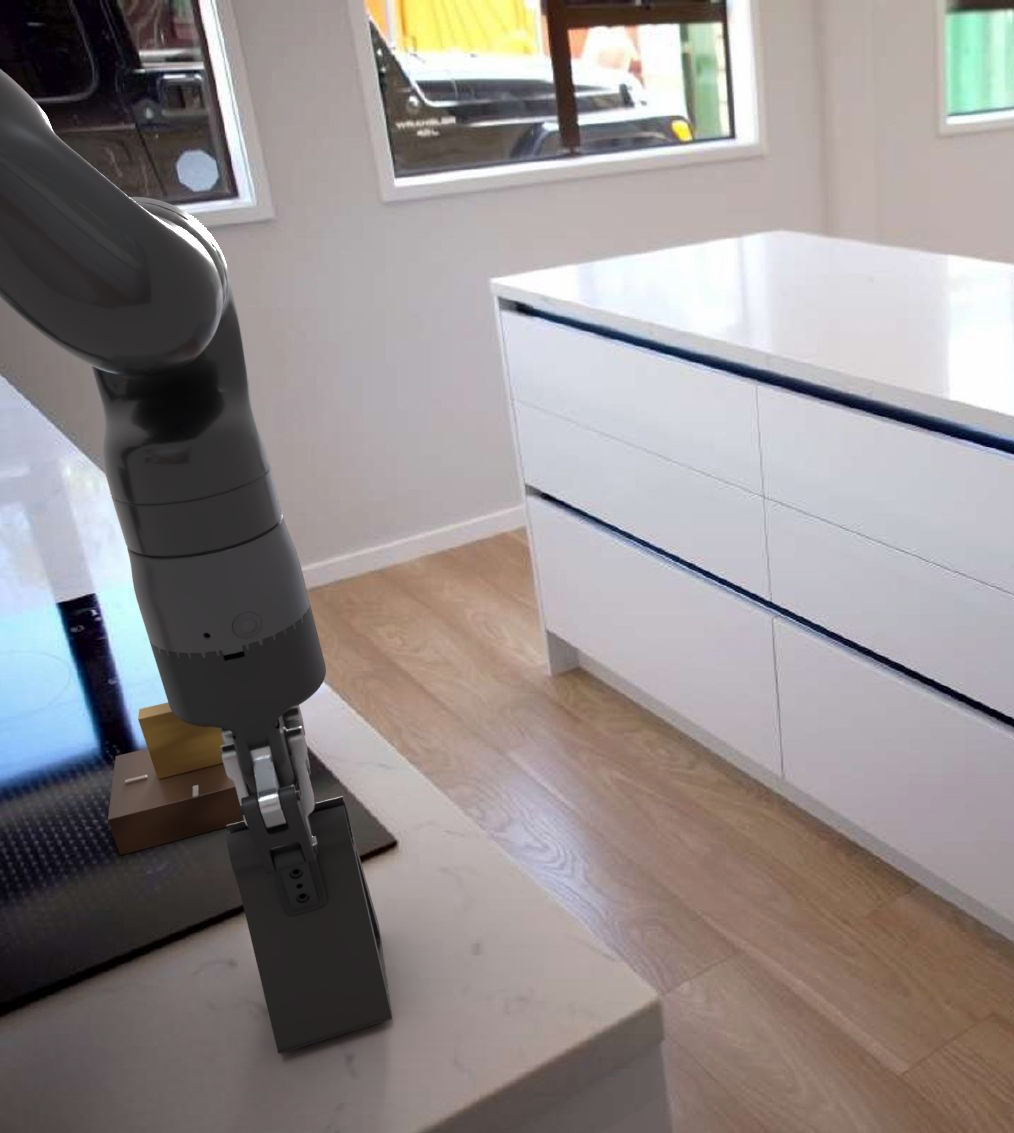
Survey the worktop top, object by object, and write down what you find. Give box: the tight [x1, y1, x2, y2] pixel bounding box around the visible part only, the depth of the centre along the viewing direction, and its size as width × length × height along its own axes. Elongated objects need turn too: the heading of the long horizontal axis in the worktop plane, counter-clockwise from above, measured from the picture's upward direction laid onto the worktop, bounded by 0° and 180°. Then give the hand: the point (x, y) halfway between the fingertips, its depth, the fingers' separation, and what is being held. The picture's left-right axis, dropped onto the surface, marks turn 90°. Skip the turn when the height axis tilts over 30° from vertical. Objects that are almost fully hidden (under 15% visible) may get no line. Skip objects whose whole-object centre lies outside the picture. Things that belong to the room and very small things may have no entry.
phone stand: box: [225, 795, 393, 1055], centre depth 72 cm, size 9×6×12 cm, turn 23°
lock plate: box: [107, 747, 253, 856], centre depth 94 cm, size 11×9×3 cm
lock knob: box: [137, 701, 225, 779], centre depth 92 cm, size 5×2×5 cm, turn 115°
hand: (305, 887), depth 72 cm, fingers closed on phone stand, 3 cm apart
